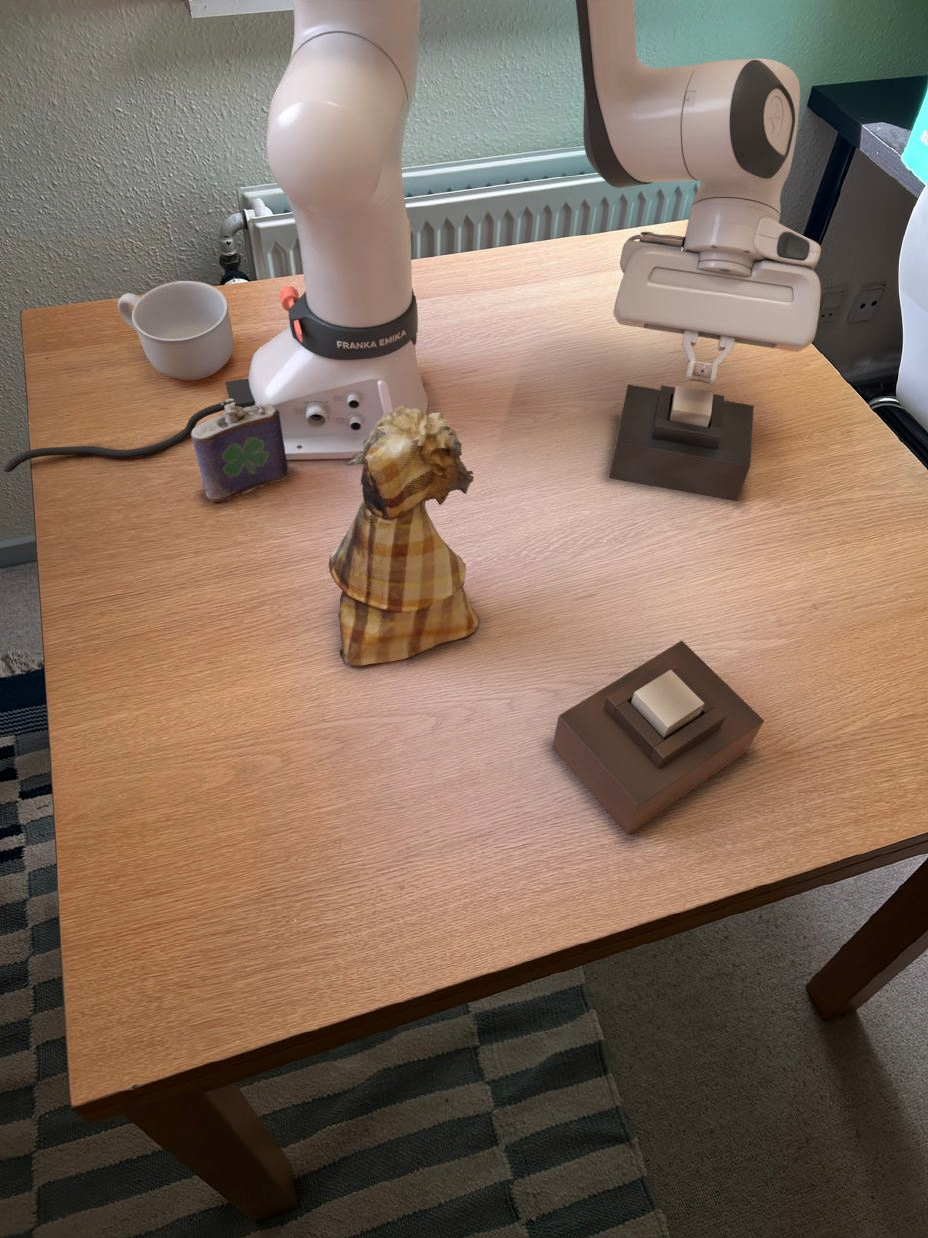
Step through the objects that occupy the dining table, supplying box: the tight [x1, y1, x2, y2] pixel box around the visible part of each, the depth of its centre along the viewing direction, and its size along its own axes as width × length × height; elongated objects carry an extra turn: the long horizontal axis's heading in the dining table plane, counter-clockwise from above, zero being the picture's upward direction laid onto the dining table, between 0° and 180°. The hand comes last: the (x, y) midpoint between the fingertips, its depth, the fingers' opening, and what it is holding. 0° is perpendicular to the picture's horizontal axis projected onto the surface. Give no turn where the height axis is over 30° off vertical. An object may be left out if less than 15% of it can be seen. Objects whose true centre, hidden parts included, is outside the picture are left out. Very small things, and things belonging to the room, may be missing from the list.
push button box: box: [551, 640, 765, 836], centre depth 77 cm, size 14×10×7 cm
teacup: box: [117, 280, 234, 381], centre depth 108 cm, size 14×11×8 cm
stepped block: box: [608, 384, 755, 502], centre depth 100 cm, size 14×10×7 cm
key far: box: [669, 385, 714, 427], centre depth 97 cm, size 4×4×2 cm
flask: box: [190, 398, 290, 503], centre depth 94 cm, size 9×3×11 cm, turn 121°
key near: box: [631, 670, 704, 738], centre depth 74 cm, size 4×4×2 cm
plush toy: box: [328, 406, 481, 667], centre depth 79 cm, size 14×14×25 cm
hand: (699, 381), depth 95 cm, fingers closed
